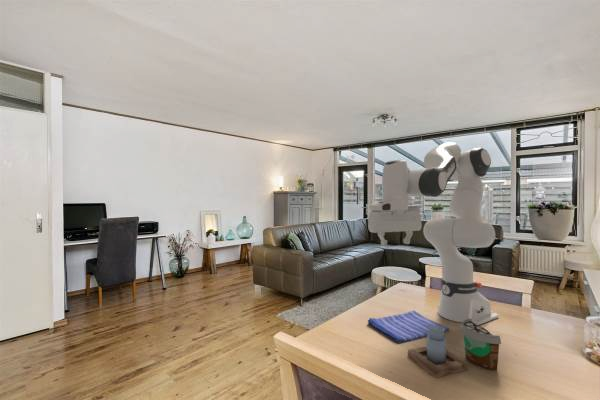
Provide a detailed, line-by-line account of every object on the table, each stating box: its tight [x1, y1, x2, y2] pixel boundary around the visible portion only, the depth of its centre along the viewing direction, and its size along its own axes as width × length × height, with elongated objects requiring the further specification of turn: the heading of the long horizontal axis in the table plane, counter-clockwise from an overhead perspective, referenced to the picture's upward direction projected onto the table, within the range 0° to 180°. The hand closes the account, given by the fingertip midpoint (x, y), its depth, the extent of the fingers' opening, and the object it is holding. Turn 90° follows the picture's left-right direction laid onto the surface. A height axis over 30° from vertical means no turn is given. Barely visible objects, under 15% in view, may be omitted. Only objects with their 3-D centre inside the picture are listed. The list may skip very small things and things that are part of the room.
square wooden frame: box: [407, 345, 469, 378], centre depth 83 cm, size 11×11×2 cm
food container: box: [460, 319, 502, 371], centre depth 84 cm, size 12×6×10 cm, turn 5°
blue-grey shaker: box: [426, 326, 447, 365], centre depth 83 cm, size 5×5×9 cm
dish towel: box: [367, 310, 450, 344], centre depth 106 cm, size 17×24×3 cm
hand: (395, 244), depth 102 cm, fingers open, 8 cm apart
